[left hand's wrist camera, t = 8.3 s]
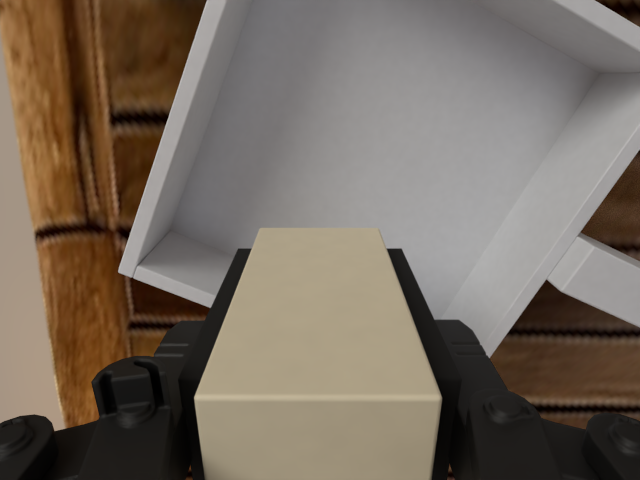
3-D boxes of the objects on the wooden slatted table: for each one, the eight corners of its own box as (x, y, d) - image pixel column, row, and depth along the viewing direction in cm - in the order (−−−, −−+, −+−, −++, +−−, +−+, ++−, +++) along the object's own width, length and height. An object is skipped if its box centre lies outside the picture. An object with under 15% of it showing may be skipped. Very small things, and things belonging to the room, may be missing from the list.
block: (379, 226, 14) (444, 397, 7) (374, 329, 16) (422, 562, 8) (259, 226, 14) (191, 397, 7) (264, 329, 16) (214, 563, 8)
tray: (157, 232, 21) (105, 284, 15) (281, -123, 16) (266, -220, 11) (622, 420, 25) (702, 509, 20) (830, 191, 20) (1005, 230, 15)
